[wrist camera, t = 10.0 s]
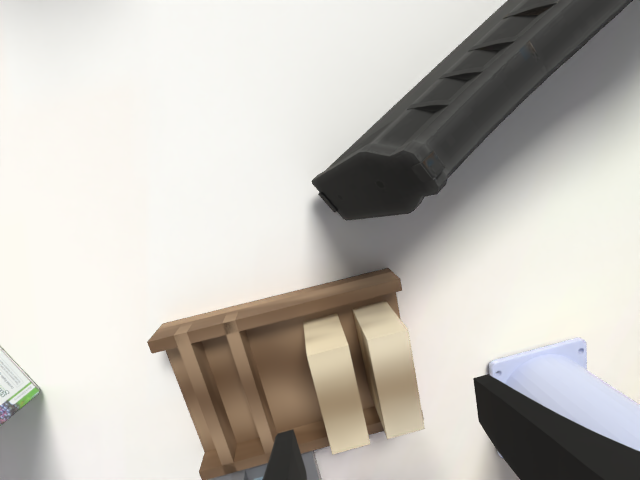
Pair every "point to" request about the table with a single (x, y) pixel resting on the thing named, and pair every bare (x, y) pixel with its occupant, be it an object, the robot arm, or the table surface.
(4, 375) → the syrup box
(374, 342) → the offcut
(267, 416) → the rack
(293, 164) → the table surface
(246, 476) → the holder
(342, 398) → the offcut
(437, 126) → the magazine
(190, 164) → the table surface
